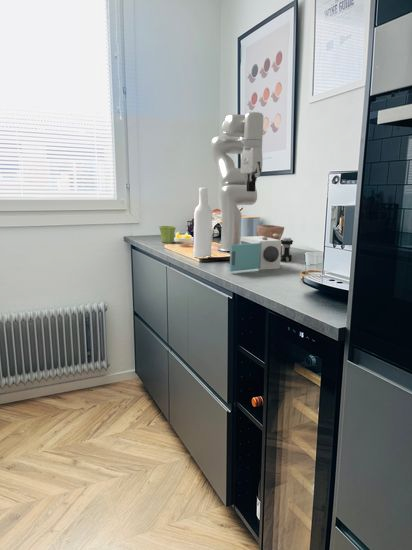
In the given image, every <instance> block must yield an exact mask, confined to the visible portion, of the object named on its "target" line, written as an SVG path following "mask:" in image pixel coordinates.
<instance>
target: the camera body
mask: <svg viewBox="0 0 412 550" xmlns="http://www.w3.org/2000/svg"><path fill="white" fill-rule="evenodd" d="M281 240H282V239H280V240H277V239H273V238H268V237H263V236H259V235H255V236H254V235H253V236H252V235H251V236H241V239H240V244H253V243H261V263H260V268H259V269H256V270H257V271H262V270H275V269H280V268H281V267H280V266H281V265H280V264H281V261H280V254H281V246H282V244H281Z"/></svg>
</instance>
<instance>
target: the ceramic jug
mask: <svg viewBox="0 0 412 550" xmlns="http://www.w3.org/2000/svg"><path fill="white" fill-rule="evenodd" d="M256 230H257V234H258V235H257V236H263V237H268V238H273V239H277V240H282V238H283V237H282V236H283V234H284V230H285V226H280V225H273V224H258V225H256ZM280 255H282V245H281V254H280Z"/></svg>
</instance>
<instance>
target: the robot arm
mask: <svg viewBox="0 0 412 550" xmlns="http://www.w3.org/2000/svg"><path fill="white" fill-rule="evenodd" d="M221 131H222V133H223V135H217V136H214V137H213V138H212V140H211V144H210V151H211V152H210V153H211V155H212V158H213V161H214V162H215V164H216V167H217V169H218V176H219V181H220V184H221V185H222V188H221V189H220V201H221V227H220V231H221V233H220V235H221V237H220V238H221V239H220V241H219V244H220V246H218V247H217V251H219V250H221V251H220V252H223V251H230V248H231V245H237V244H240V239H241V237H242V212H241V211H240V209H239V208H238V206H252V205H254V204H255V203H256V202H257V200H258V191H257V187H256V182H257V179H258V178H259V177H260V176H261V173H262V172H263V137H264V136H263V134H264V133H263V132H264V115H263V113H262V112H260V111H259V112H258V111H257V112H256V111H253V112H252V111H250V112H247V113H246V114H234V113H233V114H228V115H226V117H225V119H224V120H223V122H222V125H221ZM228 154H233V155H234V154H235V155H236V154H237V155H241V159H240V168H239V167H236V165H235V161H234V160H233V159H232V157H230V155H228Z"/></svg>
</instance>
